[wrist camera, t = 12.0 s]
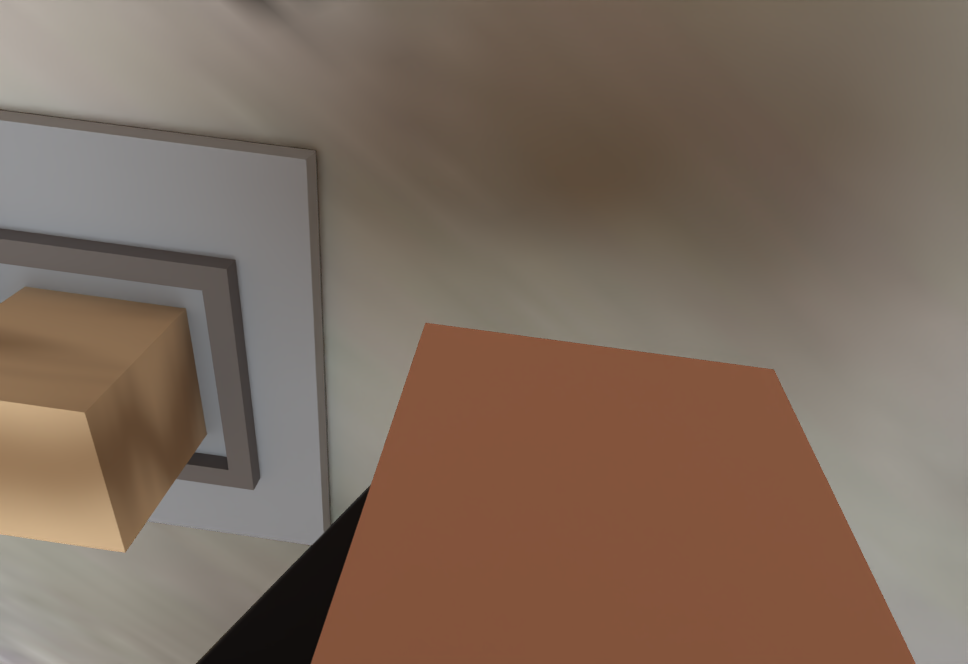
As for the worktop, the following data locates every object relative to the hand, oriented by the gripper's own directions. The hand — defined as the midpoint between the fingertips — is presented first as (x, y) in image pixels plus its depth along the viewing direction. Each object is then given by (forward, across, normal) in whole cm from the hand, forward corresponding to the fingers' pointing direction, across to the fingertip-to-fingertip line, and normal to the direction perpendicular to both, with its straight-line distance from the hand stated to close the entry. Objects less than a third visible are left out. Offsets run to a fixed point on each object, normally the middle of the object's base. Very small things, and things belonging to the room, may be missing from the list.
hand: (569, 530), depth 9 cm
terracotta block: (+1, 0, 0) cm, 1 cm away
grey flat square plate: (+11, +13, +6) cm, 18 cm away
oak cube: (+10, +13, +6) cm, 18 cm away
